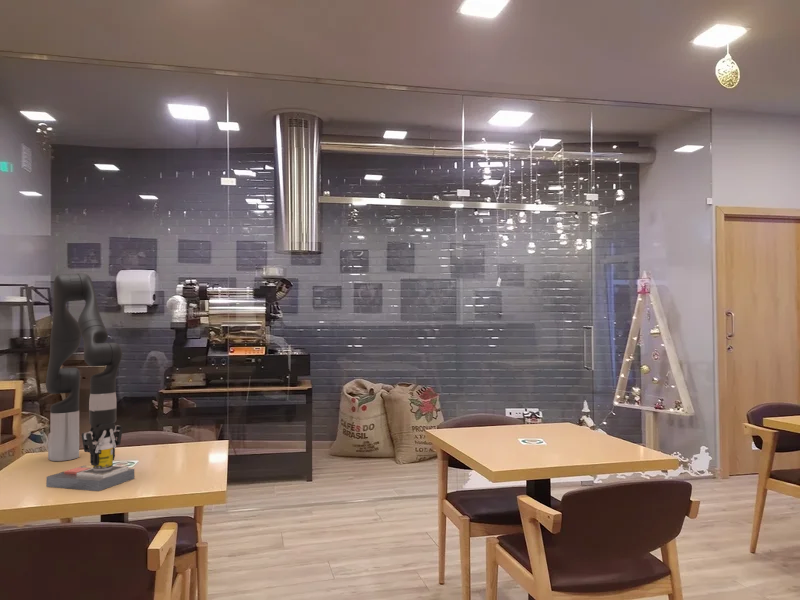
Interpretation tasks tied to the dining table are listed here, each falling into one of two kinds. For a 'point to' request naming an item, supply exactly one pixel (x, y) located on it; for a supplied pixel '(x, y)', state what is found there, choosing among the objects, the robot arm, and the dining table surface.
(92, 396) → the robot arm
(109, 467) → the supplement bottle
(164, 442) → the dining table surface
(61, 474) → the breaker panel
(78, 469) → the button
